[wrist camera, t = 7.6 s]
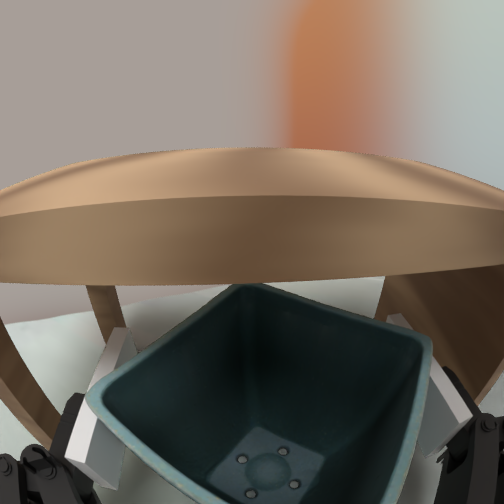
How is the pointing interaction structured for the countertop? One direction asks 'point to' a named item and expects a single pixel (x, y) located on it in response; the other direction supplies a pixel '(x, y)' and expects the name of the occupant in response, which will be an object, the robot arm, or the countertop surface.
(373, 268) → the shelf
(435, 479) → the countertop surface
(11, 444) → the countertop surface
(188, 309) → the countertop surface
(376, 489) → the flower pot
